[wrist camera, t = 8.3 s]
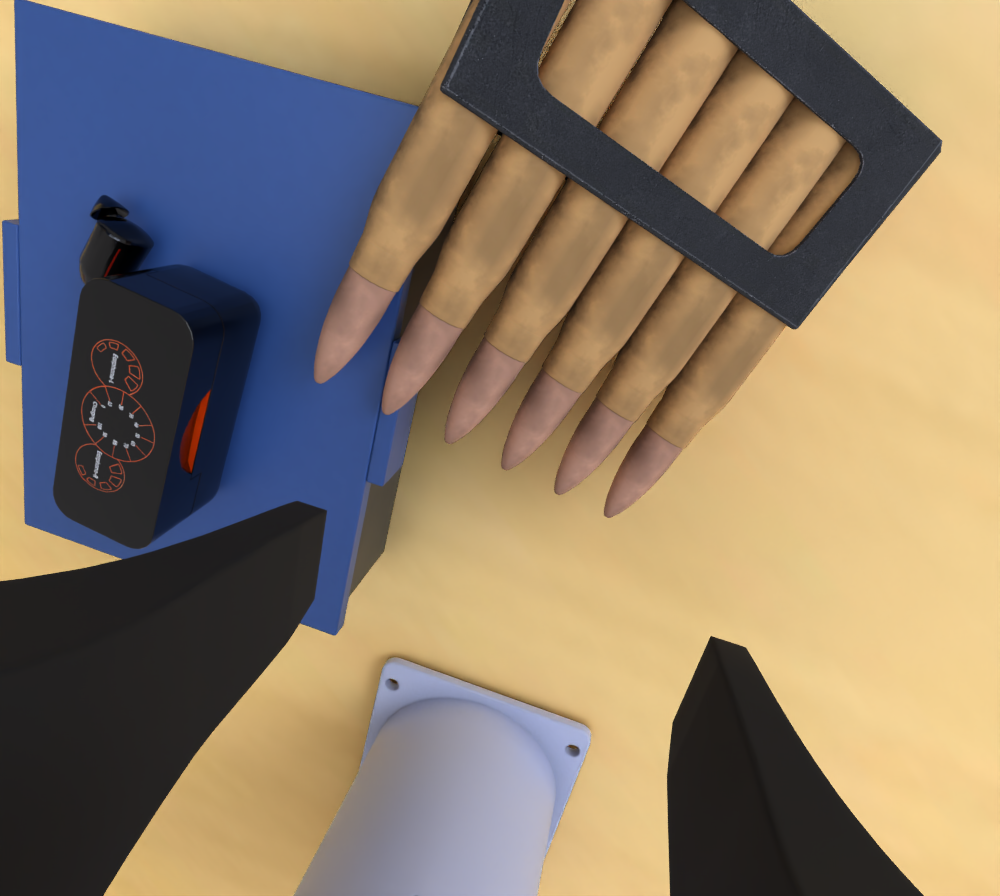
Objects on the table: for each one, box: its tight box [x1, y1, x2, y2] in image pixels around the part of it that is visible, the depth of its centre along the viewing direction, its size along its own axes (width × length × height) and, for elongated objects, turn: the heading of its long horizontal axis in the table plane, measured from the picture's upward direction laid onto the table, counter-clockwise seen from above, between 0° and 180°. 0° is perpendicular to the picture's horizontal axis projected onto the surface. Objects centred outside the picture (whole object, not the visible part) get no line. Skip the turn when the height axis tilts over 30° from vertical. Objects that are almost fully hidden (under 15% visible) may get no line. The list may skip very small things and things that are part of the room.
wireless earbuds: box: [53, 195, 261, 549], centre depth 18 cm, size 5×7×3 cm, turn 159°
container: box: [2, 0, 458, 635], centre depth 21 cm, size 15×12×5 cm
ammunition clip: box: [314, 0, 942, 518], centre depth 17 cm, size 11×2×12 cm
